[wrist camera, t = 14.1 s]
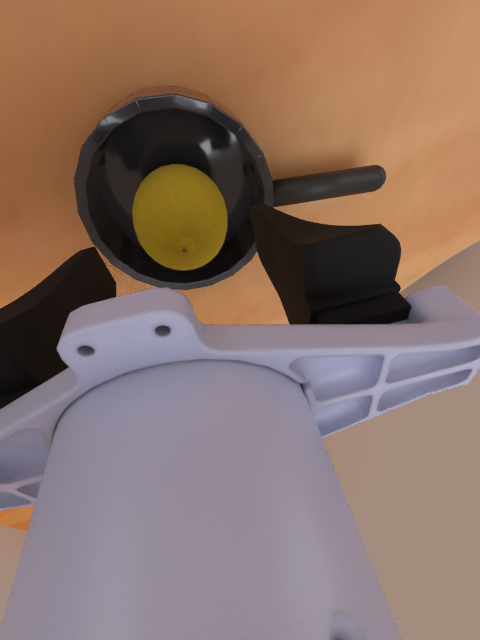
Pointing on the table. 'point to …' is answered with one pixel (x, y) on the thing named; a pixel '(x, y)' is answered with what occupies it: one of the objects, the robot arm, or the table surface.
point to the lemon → (179, 217)
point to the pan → (160, 150)
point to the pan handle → (326, 185)
